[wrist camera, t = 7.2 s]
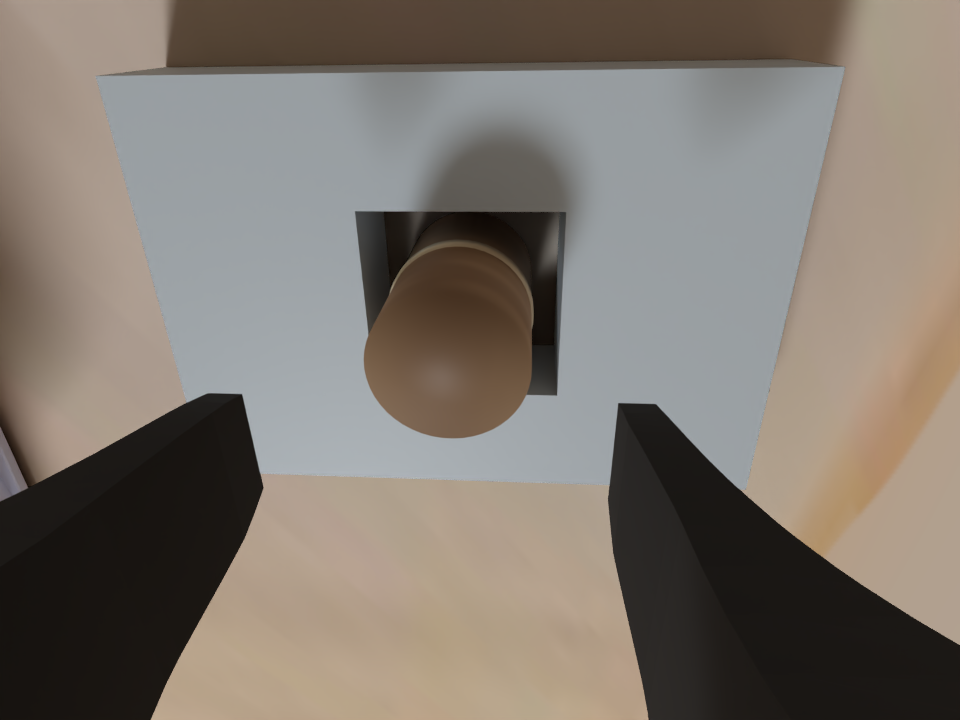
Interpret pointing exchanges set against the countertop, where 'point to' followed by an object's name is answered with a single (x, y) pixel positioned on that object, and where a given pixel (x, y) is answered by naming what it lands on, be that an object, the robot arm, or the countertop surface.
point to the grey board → (478, 188)
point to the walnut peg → (455, 330)
